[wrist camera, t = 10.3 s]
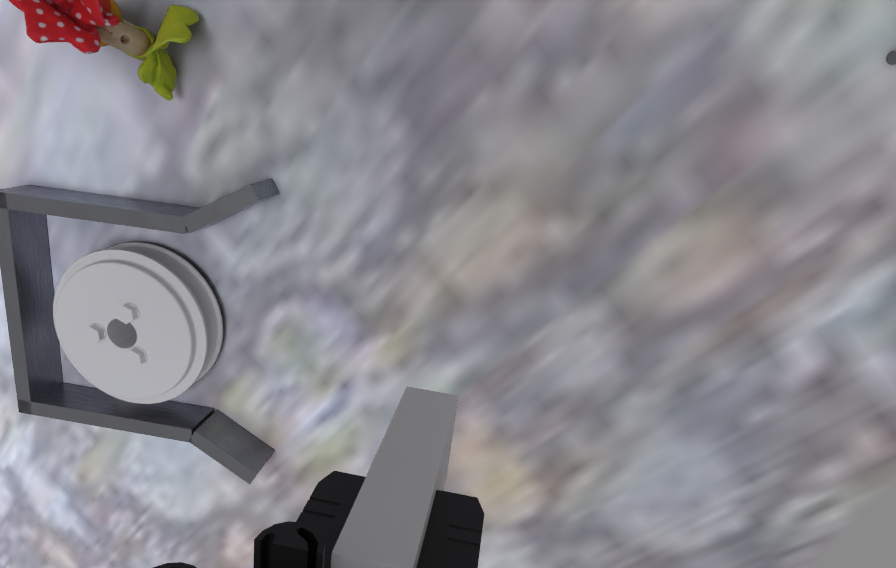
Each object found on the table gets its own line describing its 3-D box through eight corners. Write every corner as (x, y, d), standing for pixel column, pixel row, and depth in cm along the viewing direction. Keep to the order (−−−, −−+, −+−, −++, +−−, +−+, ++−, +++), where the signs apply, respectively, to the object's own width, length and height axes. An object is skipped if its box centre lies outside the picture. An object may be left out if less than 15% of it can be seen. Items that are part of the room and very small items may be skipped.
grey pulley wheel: (218, 240, 46) (182, 256, 42) (237, 387, 50) (206, 417, 45) (72, 238, 48) (21, 252, 43) (100, 380, 52) (56, 408, 47)
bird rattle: (129, 71, 45) (203, 114, 42) (-47, 32, 36) (29, 82, 32) (146, -13, 44) (225, 24, 40) (-35, -78, 34) (47, -38, 30)
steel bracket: (24, 147, 46) (-15, 150, 43) (280, 179, 44) (258, 185, 41) (54, 421, 53) (22, 442, 50) (274, 460, 51) (256, 485, 48)
